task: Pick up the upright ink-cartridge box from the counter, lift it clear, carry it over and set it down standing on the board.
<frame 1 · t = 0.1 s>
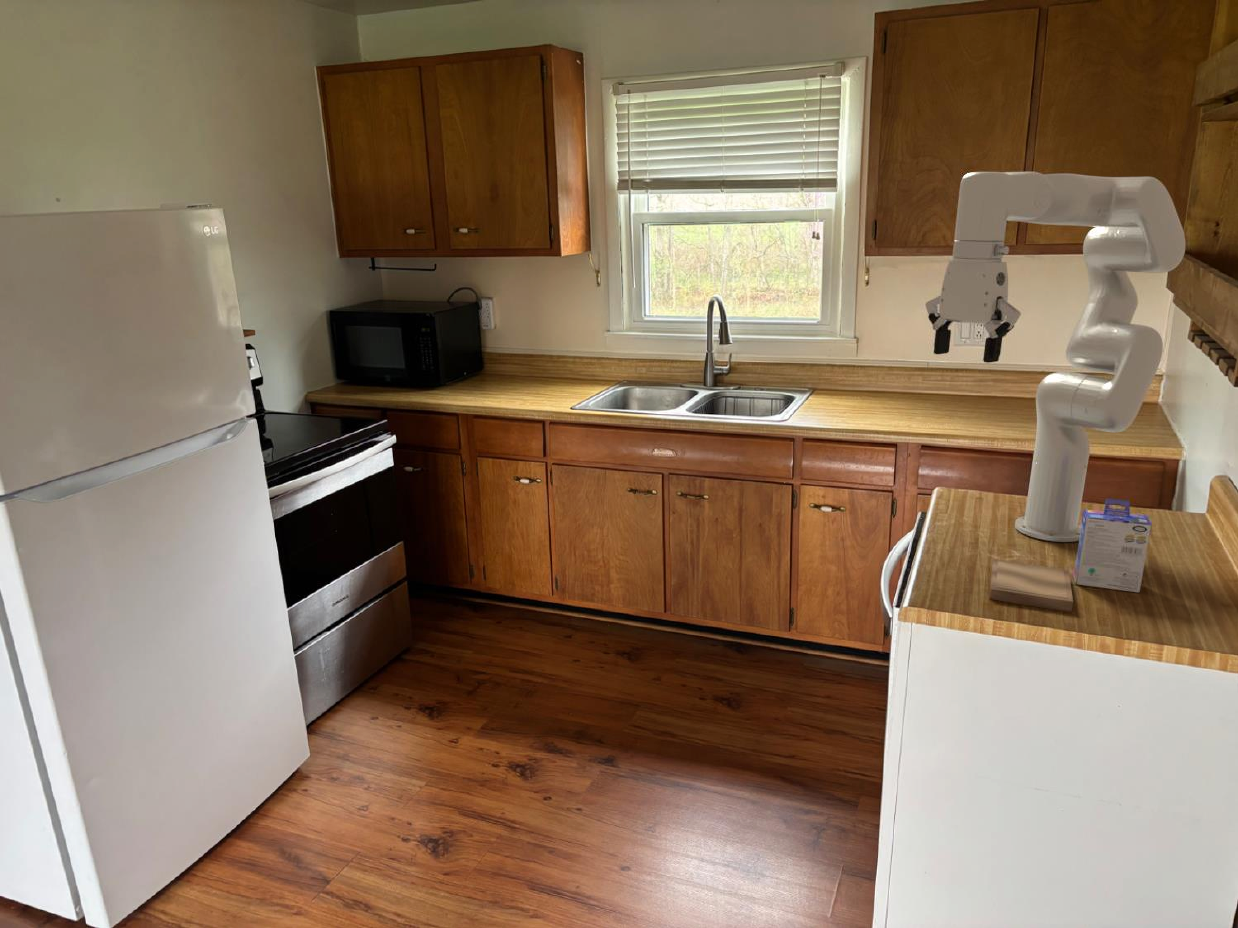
hand: (965, 357, 148), 37 cm above the worktop, tool pointing down, fingers open, 9 cm apart
ink cartridge box: (1105, 584, 151), on the worktop
board: (1029, 589, 149), on the worktop
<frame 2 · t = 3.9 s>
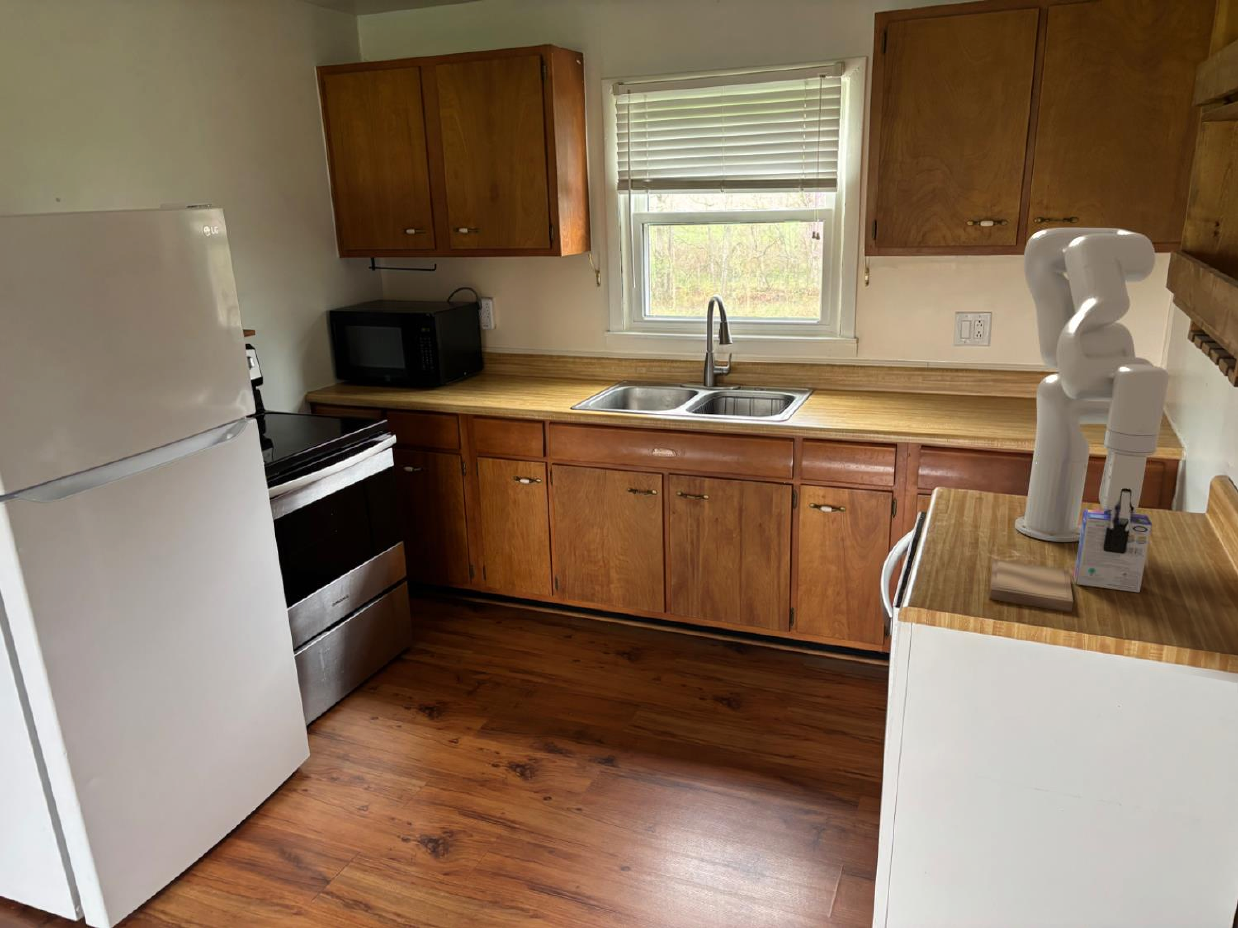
hand: (1112, 544, 149), 7 cm above the worktop, tool pointing down, fingers closed on ink cartridge box, 5 cm apart
ink cartridge box: (1105, 584, 151), on the worktop, touching gripper
when the fingers open (10 cm above the worktop, at t = 9.4 s): ink cartridge box stays where it is, resting on board.
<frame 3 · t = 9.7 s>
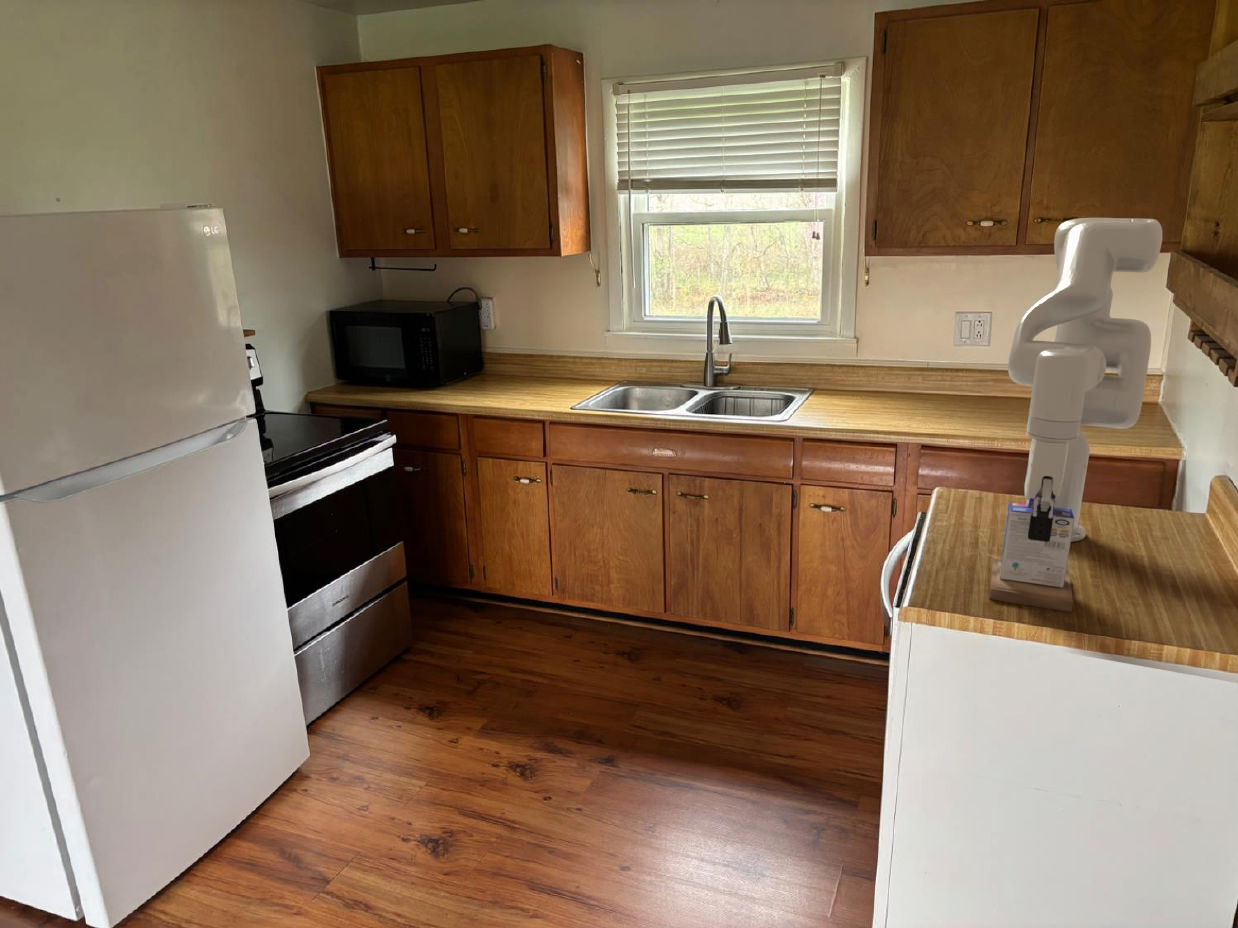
hand: (1037, 530, 146), 10 cm above the worktop, tool pointing down, fingers open, 8 cm apart
ink cartridge box: (1031, 579, 149), point 2 cm above the worktop, touching board
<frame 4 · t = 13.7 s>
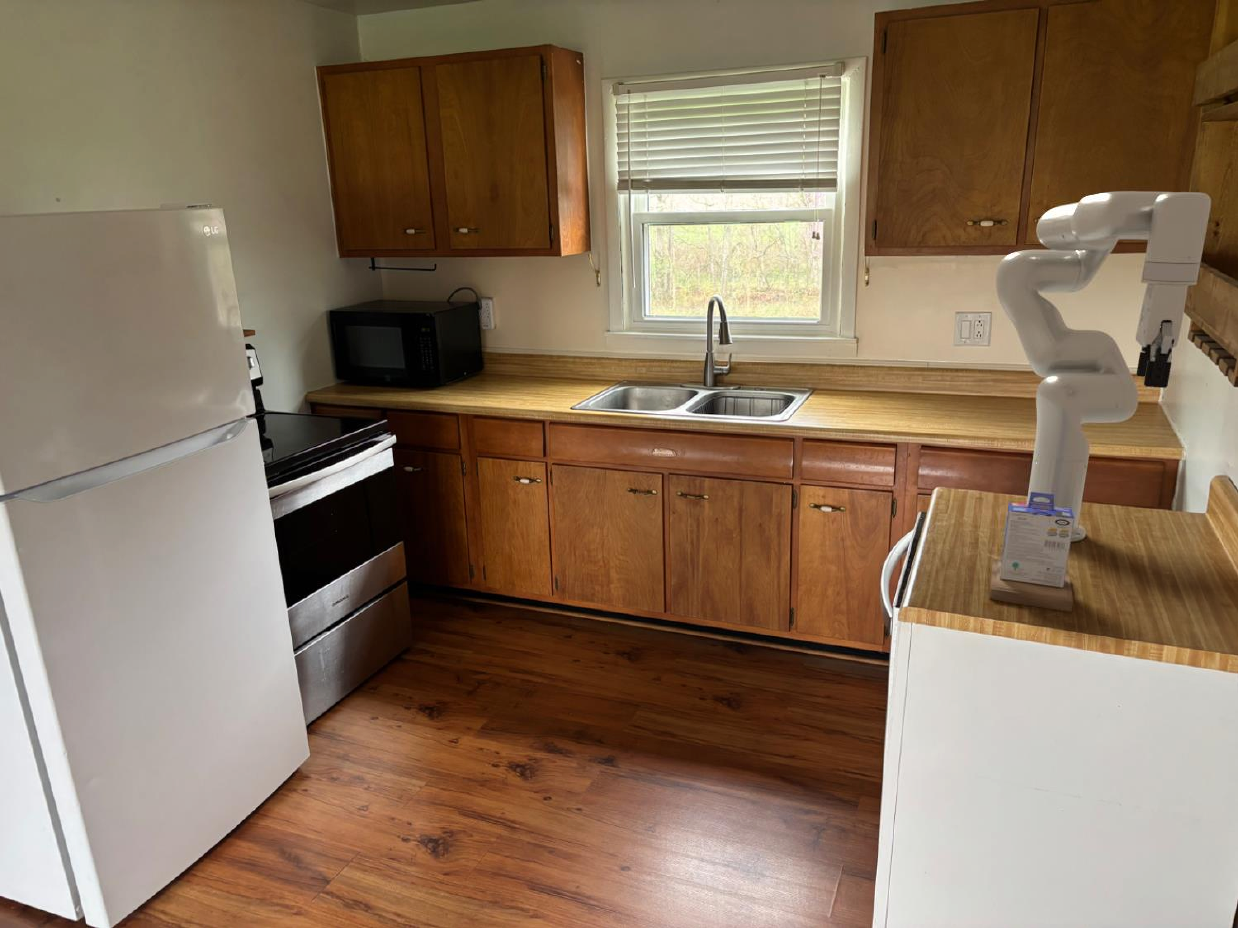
hand: (1151, 381, 145), 34 cm above the worktop, tool pointing down, fingers open, 9 cm apart
nothing on the worktop moved.
at the end: ink cartridge box 0.2 cm from the board (horizontally); ink cartridge box tilted 0°; ink cartridge box touching board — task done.
